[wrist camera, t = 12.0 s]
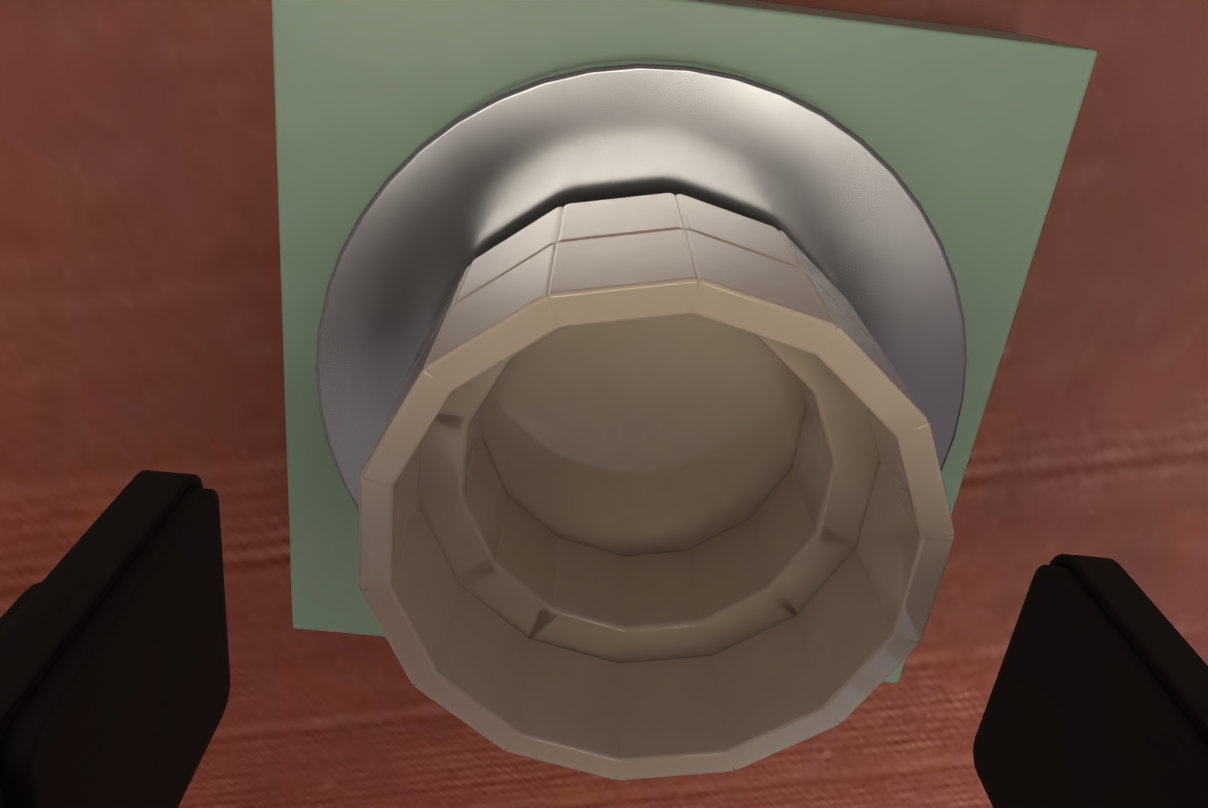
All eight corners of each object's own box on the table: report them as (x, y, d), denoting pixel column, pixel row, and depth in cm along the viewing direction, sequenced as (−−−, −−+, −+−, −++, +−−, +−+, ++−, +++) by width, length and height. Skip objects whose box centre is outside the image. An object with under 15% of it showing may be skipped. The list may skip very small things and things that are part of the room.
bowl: (416, 567, 17) (357, 759, 13) (430, 155, 14) (358, 240, 10) (809, 604, 17) (870, 803, 13) (909, 210, 14) (1028, 315, 10)
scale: (331, 561, 22) (292, 649, 19) (324, -53, 16) (268, -52, 13) (857, 610, 22) (892, 704, 19) (1020, 33, 17) (1099, 50, 14)
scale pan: (328, 611, 18) (319, 631, 17) (319, 17, 14) (308, 20, 13) (872, 661, 18) (880, 683, 18) (1039, 103, 14) (1056, 110, 13)
